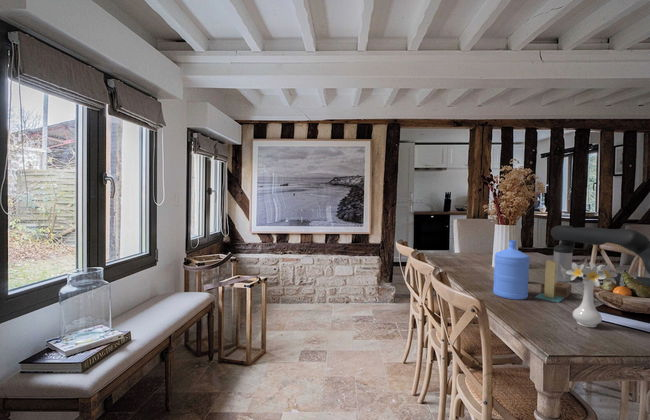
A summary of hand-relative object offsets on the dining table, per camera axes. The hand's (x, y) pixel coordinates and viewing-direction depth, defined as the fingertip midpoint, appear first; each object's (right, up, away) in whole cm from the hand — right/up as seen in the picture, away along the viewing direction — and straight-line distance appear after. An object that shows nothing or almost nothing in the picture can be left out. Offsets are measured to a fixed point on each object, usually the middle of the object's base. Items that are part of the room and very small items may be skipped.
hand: (577, 275), depth 163 cm
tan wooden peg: (-7, -12, +8) cm, 17 cm away
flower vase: (-16, -15, -26) cm, 34 cm away
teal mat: (-8, -13, +9) cm, 17 cm away
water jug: (-25, -13, +12) cm, 31 cm away
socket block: (+1, -13, +17) cm, 21 cm away
